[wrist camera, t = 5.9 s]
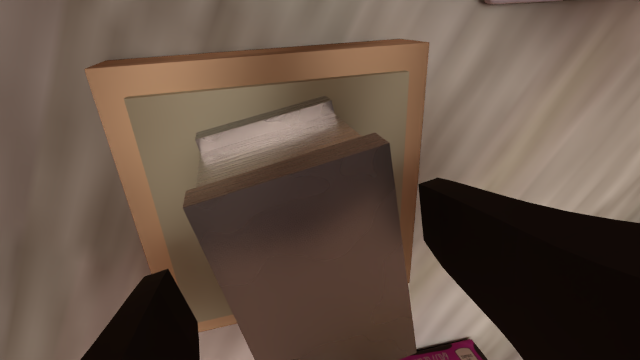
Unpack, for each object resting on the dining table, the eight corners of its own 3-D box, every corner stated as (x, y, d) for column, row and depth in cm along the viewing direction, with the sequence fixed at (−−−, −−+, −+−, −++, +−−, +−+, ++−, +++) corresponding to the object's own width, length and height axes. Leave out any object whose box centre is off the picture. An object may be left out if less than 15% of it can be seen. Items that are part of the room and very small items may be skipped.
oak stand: (400, 38, 13) (434, 42, 11) (389, 255, 17) (412, 287, 15) (105, 60, 11) (80, 70, 9) (177, 301, 15) (171, 344, 13)
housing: (325, 95, 11) (389, 143, 7) (358, 254, 14) (416, 352, 10) (196, 132, 10) (182, 208, 6) (259, 289, 13) (278, 408, 9)
